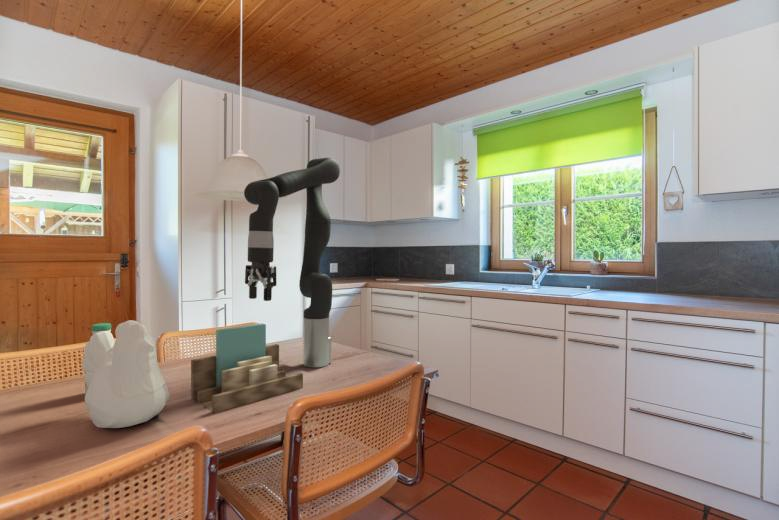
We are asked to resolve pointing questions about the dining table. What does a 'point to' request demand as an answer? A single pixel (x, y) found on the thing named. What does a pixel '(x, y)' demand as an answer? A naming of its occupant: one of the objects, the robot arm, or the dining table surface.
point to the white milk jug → (123, 377)
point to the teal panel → (238, 346)
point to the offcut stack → (249, 373)
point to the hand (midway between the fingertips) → (259, 299)
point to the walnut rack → (218, 401)
